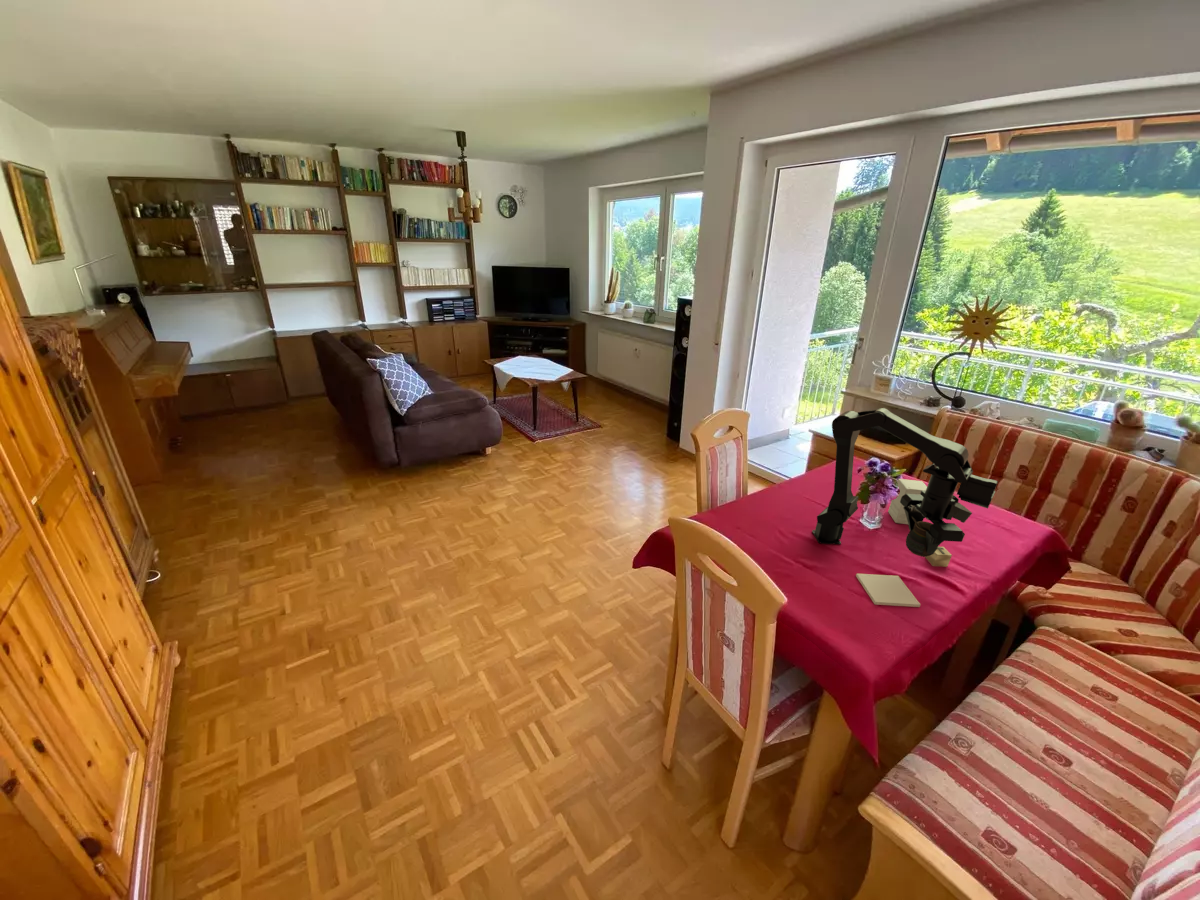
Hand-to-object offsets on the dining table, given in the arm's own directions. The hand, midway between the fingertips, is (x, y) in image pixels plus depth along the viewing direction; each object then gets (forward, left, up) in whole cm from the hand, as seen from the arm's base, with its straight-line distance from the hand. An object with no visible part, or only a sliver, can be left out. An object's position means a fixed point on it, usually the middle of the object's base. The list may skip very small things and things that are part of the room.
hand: (920, 543), depth 130 cm
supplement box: (+13, +29, -10) cm, 33 cm away
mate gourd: (0, 0, -3) cm, 3 cm away
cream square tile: (-10, -8, -10) cm, 16 cm away
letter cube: (+11, +6, -10) cm, 16 cm away
